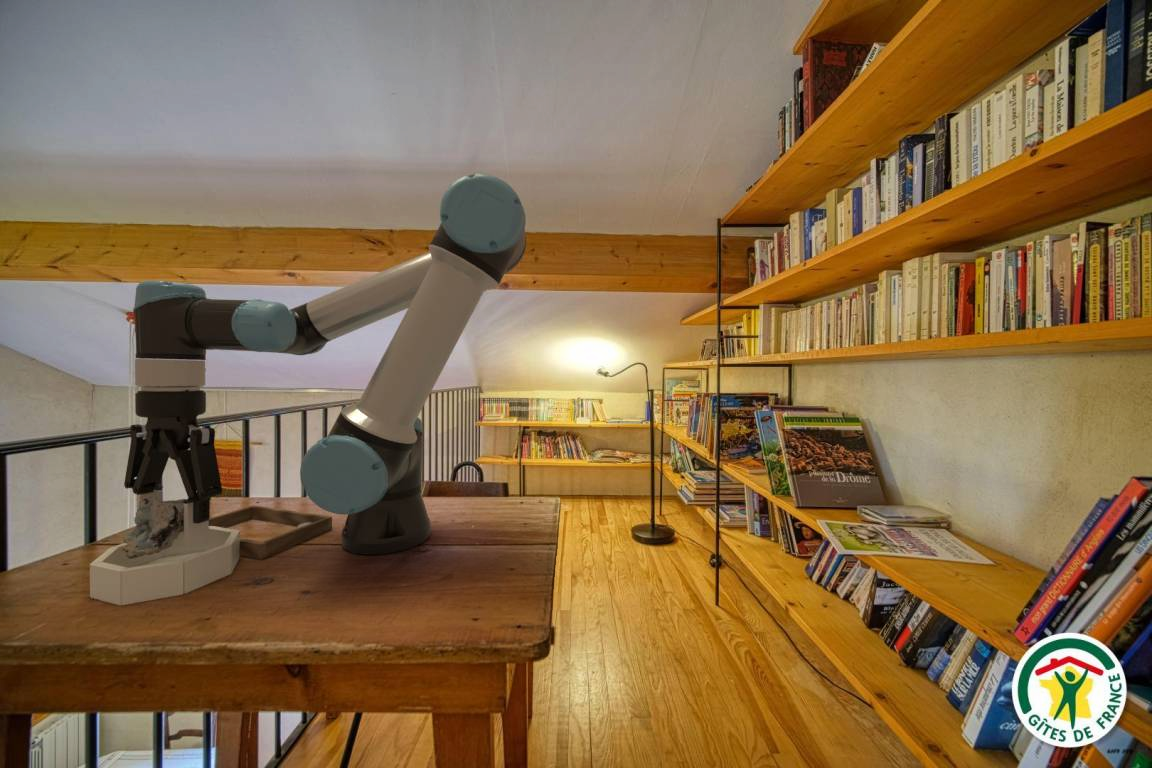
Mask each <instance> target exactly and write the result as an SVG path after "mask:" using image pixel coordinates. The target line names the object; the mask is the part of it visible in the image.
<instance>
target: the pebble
mask: <svg viewBox="0 0 1152 768" xmlns="http://www.w3.org/2000/svg"><path fill="white" fill-rule="evenodd" d="M310 523H313V522H309V523H303V524H300V525H298V526H296V529H297V528H300V527H302V526H305V525H308V524H310Z"/></svg>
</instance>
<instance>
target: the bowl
mask: <svg viewBox="0 0 1152 768" xmlns="http://www.w3.org/2000/svg"><path fill="white" fill-rule="evenodd" d="M240 533H241V531H240V529H233V528H229V527H226V528H222V527H216V526H209V541H206V542H203V543H200V544H198V545H195V546H192V547H189V548H186V547H184V532H181V533H180V534H179V535H178V538H177V539H175V540H174V541H173V543H172V546H171V547H168V548H167V549H164V550H161V552H159V553H154V554H152V555H144V556H139V557H137V558H133V559H129V558H127V556H126V555H125V553H124V552H125V551H122V548H123V547H124V546H125V545H127V543H124V542H123V543H120V544H118V545H114V546H111V547H109V548H108V549H107V550H105V551H103V552H102V554H100V555H99V556H98V557H97V558H96V559H94V560H93V561H92V562H91V563H89V598H90V597H91V598H90V599H93V598H94V599H93V600H97V599H98V601H101V602H105V603H109V604H113V605H116V606H126V605H132V604H137V603H143V602H147V601H154V600H160V599H165V598H171V597H176V596H182V595H186V594H188V593H191V592H193V591H196V590H197V589H199V588H202V587H204V586H206V585H209V584H211V583H213V582H216V581H218V580H221V579H223V578H225V577H227V576H229V575H231V574H233V572H234V570H235V568H236V566H237V565H238V563H239V560H240V557H241V556H240V538H241V535H240Z"/></svg>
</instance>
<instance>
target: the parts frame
mask: <svg viewBox="0 0 1152 768" xmlns="http://www.w3.org/2000/svg"><path fill="white" fill-rule="evenodd" d="M251 520H257V521H264V522H269V523H276V524H284V525H288V526H295V527H296V528H295V529H293V530H290V531H287V532H285V533H282V534H280V535H277V536H274V537H272V538H269V539H267V540H265V541H258V540H253V539H252V540H251V539H246V538H243V537H242V538H241V537H240V555H242V556H241V557H244V556H246V558H251V559H255V560H265V559H266V558H269V557H271V556H273V555H276V554H278V553H280V552H282V551H285V550H287V549H290V548H291V547H295V546H296V545H299V544H301V543H303V541H304V542H305V541H306V542H307V541H308V540H311V539H313V538H315V537H317V536H320V535H322V534H325V533H327V532H330V531H331V530H333V516H330V515H329V516H328V515H322V514H315V513H309V512H301V511H295V510H290V509H289V510H288V509H280V508H274V507H269V506H267V507H266V506H260V505H254V504H253V505H250V506H247V507H244V508H240V509H237V510H234V511H230V512H226V513H224V514H219V515H216V516H213V517H210V518H209V526H216V527H222V528H229V527H233V526H235V525H239V524H241V523H244V522H247V521H251ZM309 522H313V523H310V524H308V525H305V526H302V527H300V528H297V526H298V525H300V524H303V523H309Z"/></svg>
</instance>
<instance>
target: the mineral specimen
mask: <svg viewBox="0 0 1152 768" xmlns="http://www.w3.org/2000/svg"><path fill="white" fill-rule="evenodd" d="M186 499H187V498H181V499H177V500H162V501H159V499H157V498H154V497H149V498H145V499H143V500H142V501H140V502H139V509H138V510H137V509H136V512H135V517H134V519H133V522H134V525H135V527H134V529H132V530H131V531H129V532H127V533H126V534H125V535H124V537H123V543H127V545H125V546H124V547H123V548H122V551H125V552H124V553H125V555H126V556H127V558H129V559H133V558H137V557H139V556H144V555H152V554H154V553H159V552H161V550H164V549H167V548H168V547H171V546H172V543H173V541H174V540H175V539H177V538H178V535H179V534H180V533H181V532H184V502H183V501H184V500H186Z"/></svg>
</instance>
